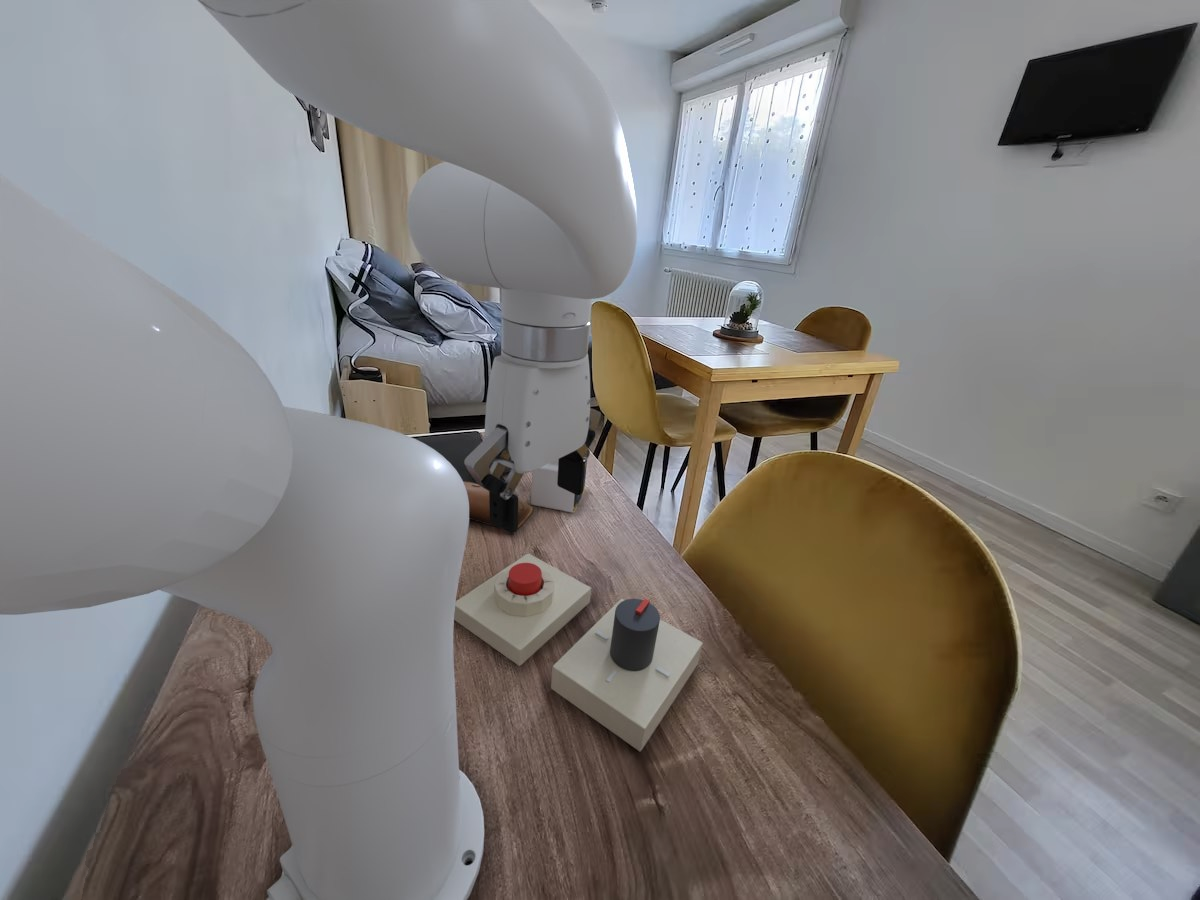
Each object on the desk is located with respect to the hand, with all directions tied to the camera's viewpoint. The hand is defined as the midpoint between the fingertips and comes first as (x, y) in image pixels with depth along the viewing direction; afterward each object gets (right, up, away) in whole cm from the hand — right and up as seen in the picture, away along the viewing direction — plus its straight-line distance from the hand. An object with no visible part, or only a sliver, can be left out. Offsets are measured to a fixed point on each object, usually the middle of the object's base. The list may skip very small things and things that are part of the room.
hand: (539, 507), depth 49 cm
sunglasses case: (-13, -3, +24) cm, 28 cm away
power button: (-2, -9, +4) cm, 10 cm away
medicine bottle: (-1, -2, +29) cm, 29 cm away
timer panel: (+9, -17, -1) cm, 19 cm away
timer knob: (+9, -14, -2) cm, 17 cm away
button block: (-2, -12, +6) cm, 14 cm away
